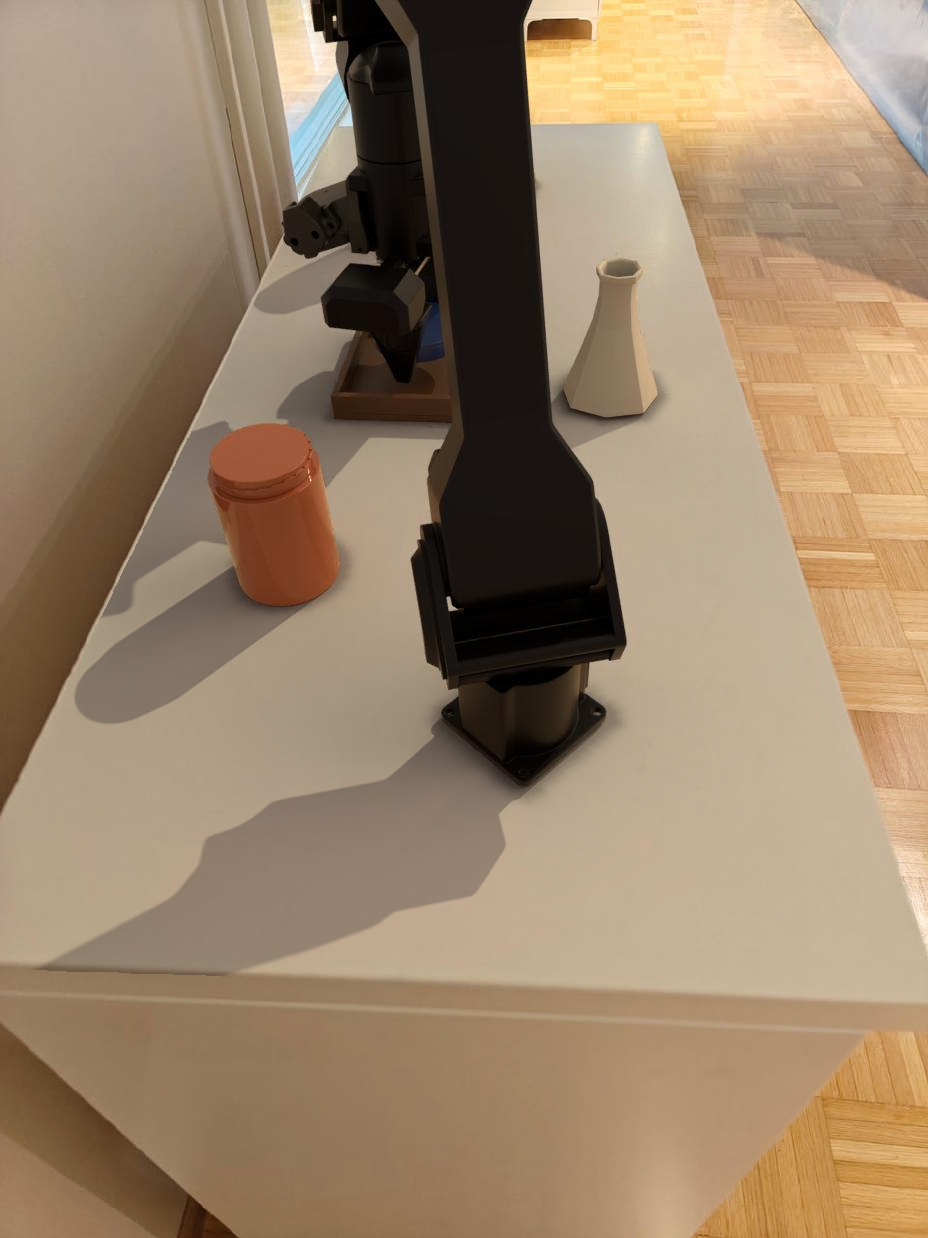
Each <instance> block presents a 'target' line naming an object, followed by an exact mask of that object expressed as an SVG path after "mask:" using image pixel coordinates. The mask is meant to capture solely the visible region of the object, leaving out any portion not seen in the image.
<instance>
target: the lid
mask: <svg viewBox="0 0 928 1238" xmlns="http://www.w3.org/2000/svg"><path fill="white" fill-rule="evenodd" d="M425 303H427V304H432V307H431V311H430V314H429V318H428V322H427V325H426V329H425V332H424V336H423V339H422V343H421V347H420V350H419V354H418V358H417V361H416V363H420V362H428V361H433V360H437V359H440V358H443V357H445V351H444V342H443V334H442V326H441V317H440V309H439V303H436V302H425ZM374 340H375V339H374ZM375 346H376V348H377V350H378V351H379V352H380V353H381V354H382V352H381V350H380V348H379V346H378V345H377V343H376V341H375ZM382 355H383V354H382Z"/></svg>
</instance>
